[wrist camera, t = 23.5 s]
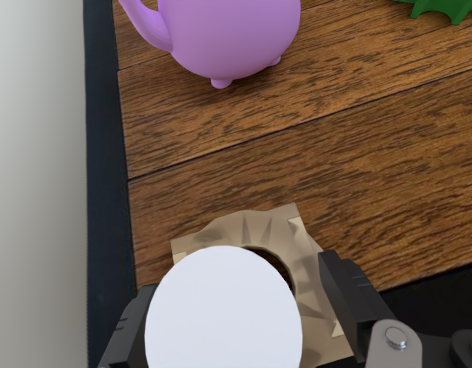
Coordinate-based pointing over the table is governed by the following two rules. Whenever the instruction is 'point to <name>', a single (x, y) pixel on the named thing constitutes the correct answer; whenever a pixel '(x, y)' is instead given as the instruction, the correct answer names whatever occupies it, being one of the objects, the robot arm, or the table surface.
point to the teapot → (219, 33)
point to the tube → (223, 314)
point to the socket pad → (293, 259)
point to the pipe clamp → (442, 8)
